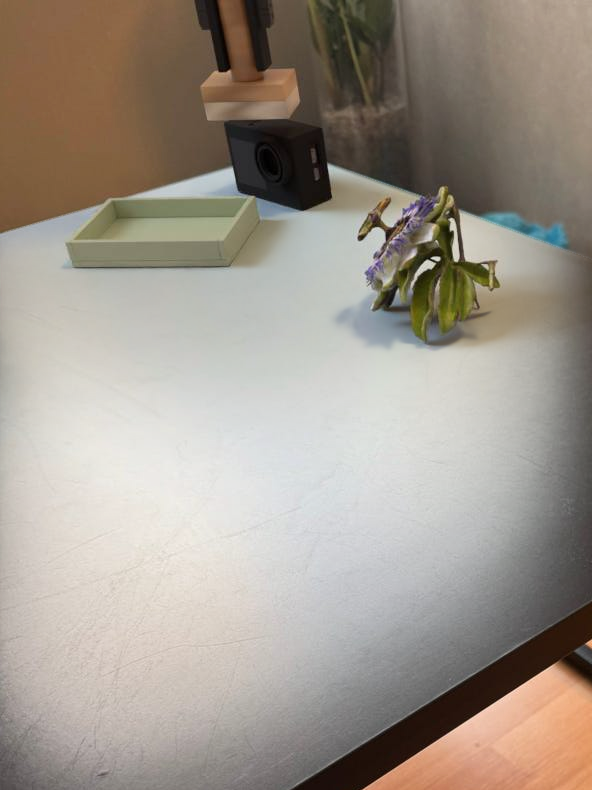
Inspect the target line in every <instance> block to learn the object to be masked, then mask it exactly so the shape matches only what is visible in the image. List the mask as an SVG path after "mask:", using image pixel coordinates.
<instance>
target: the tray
mask: <svg viewBox="0 0 592 790" xmlns="http://www.w3.org/2000/svg"><path fill="white" fill-rule="evenodd" d="M260 221H261V218H260V213H259V207H258V203H257V197H255V196H252V195H227V196H223V195H220V196H218V195H217V196H216V195H215V196H161V197H160V196H159V197H156V196H155V197H153V196H152V197H109V198H107V199H106V201H105V202H104V203H103V204H101V205H100V206H99V208H98V209H96V210H95V212H93V214H91V216H90V217H88V218H87V219H86V221H85V222H84V223H83V224H81V226H80V227H79V228H77V229H76V230H75V231H74V233H72V235H71V236H70V237H68V238H67V240H65V241H64V244H65V247H66V250H67V253H68V256H69V259H70V261H71V262H70V263H71V265H72V267H73V268H154V267H155V268H158V267H159V268H161V267H162V268H164V267H165V268H167V267H168V268H169V267H172V268H174V267H177V268H178V267H181V268H182V267H184V268H185V267H230V265H231V264H232V262H234V260H235V258H236V257H237V255H238V253H240V251H241V249H242V247H243V246H244V245H245V243H246V242H247V240H248V239H249V238H250V236H251V234H252V233H253V232H254V230H255V228H256V227H257V225H258V224H259V222H260Z"/></svg>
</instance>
